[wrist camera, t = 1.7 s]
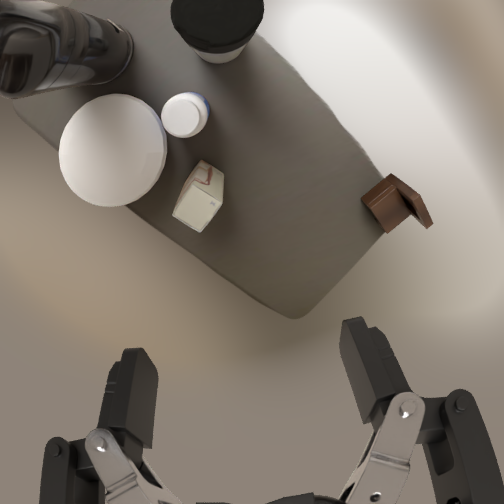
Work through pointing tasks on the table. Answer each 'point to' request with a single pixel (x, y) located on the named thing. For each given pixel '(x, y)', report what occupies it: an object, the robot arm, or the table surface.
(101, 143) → the white domed disc
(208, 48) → the spray can
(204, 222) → the cream cosmetic box
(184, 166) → the table surface
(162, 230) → the table surface
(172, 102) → the pill bottle
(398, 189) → the miniature wooden chair
